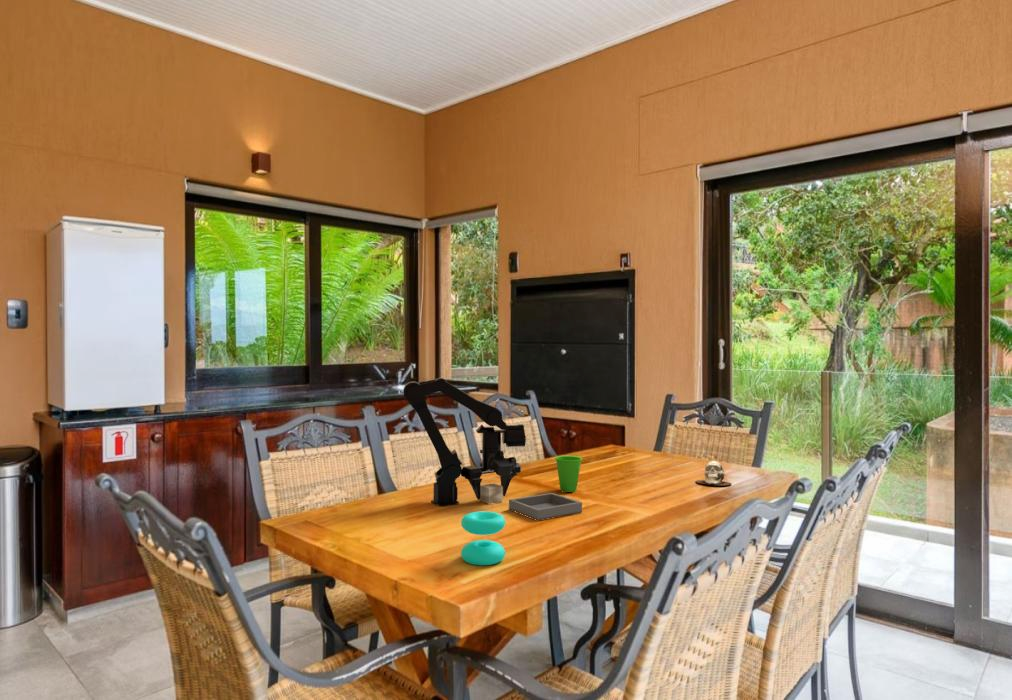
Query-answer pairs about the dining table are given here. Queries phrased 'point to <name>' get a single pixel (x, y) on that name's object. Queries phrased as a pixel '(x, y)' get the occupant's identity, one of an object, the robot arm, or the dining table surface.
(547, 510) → the tray
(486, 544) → the donuts
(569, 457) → the cup
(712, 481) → the skull
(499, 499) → the block
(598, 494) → the dining table surface
